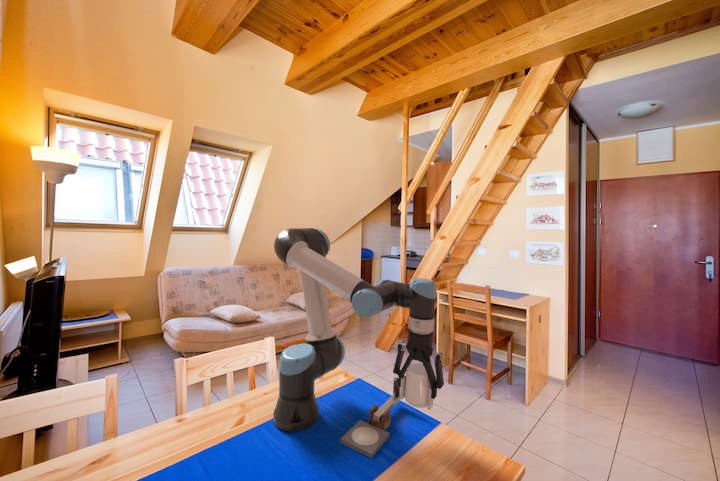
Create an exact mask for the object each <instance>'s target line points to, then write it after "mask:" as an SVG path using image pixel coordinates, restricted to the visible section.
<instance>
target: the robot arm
mask: <svg viewBox="0 0 720 481" xmlns="http://www.w3.org/2000/svg"><path fill="white" fill-rule="evenodd" d="M273 243H274V244H273V249H274V253H275V255H276V256H277V258H278V259H279V261H281V262H282V263H283V264H285V265H286V266H288V267H290V268H293V269H294V268H297V269H298V270H299V271H300V276H301V285H302V292H303V299H304V307H305V313H306V314H305V315H306V322H307V323H306V324H307V330H308V334H307V335H306V337H305V343H299V344H293V345H289V346H288V347H286V348H285V349H284V350H282V352H281V354H280V355H279V364H278V371H279V372H278V373H279V374H278V375H279V378H278V384H279V387H278V390H279V391H278V395H279V396H278V398H277V402H276V404H275V408H274V411H273V423H274V426H276V427H277V428H278V429H280V430H283V431H285V432H301V431H303V430H307V429H310V428H311V427H312V426H314V425H315V424H316V423H317V422H318V420H319V418H320V417H319V416H320V408H319V405H318V403H317V398H316V396H315V382H316V380H318V379H320V378H321V377H323V376H325V375H327V374H328V373H330V372H333V371H334V370H335V369H337V367H339V366H340V365H341V364H342V363H343V362H344V359H345V356H346V355H345V353H346V351H345V345H344V342H343V341H341V338H340V337H338V336H337V332H336V331H334V330H333V328H332V322H331V315H330V308H329V301H328V300H329V299H328V294H327V293H328V292H327V288H328V289H330V290H331V291H332V292H333V293H336V294H337V295H338V296H340V297H341V298H343V299H345V300H346V301H348V302H350V303H351V307H352V310H354V312H355V314H356V315H358V316H359V317H360V318H361V317H362V318H369V317H373V316H377V315H379V314H380V313H382V312H383V311H386V310H388V309H391V308H392V307H399V308H404V309H408V323H407V324H408V329H407V342H406V343H404V342H403V341H401V342H400V343H398V344H397V354H396V358H395V361H394V366H393V371H392V372H393V374H395V375H397V376H398V377H397V378H399V379H398V386H399V387H400V399H401V400H403V399H405V386H406V370H407V368H408V367H409V365H410V364H411V363H413V361H418V362H419V363H423V366H424V367H425V370H426V373H427V376H428V379H429V381H430V384H431V386H430V387H429V392H428V406H427V407H426V409H427V410H428V411H431V409H432V408H433V406H434V400H435V399H436V398H437V396H438V389H439V390H441V389H442V388H443V386H444V385H445V381H444V373H443V372H444V370H443V364H442V359H443V355H444V354H443V353H442V352H436V351H434V348H433V345H434V344H433V341H434V332H433V331H434V327H435V325H434V324H435V311H436V299H437V295H436V294H437V293H436V292H437V286H436V282H435V281H434V280H432V279H429V278H420V277H417V278H412V279H411V281H410V283H405V282H400V281H394V280H390V279H379V280H377V281H376V283H374V285H372V284H371V283H369V282H367V281H365V279H362V278H361V277H358V276H357V275H356V274H353V273H352V272H350V271H349V270H347V269H345V268H344V267H342V266H340V265H339V264H337V263H335V262H334V261H332V260H330V259H328V258H327V257H326V256H328V254H329V251H330V249H331V241H330V238H329V237H328V234H327V233H325V232H324V231H323V230H322V229H319V228H315V227H314V228H313V227H310V228H309V227H307V228H303V227H302V228H299V227H298V228H295V227H294V228H291V227H290V228H286V229H283V230H282V231H280V232H279V233H278V235H276V238H275V239H274V242H273ZM406 350H407V352H408V356H407V358H406V360H405V362H403V358H404V356H405V351H406ZM431 356H432V357H433V360H434V368H435V369H434V368H433V365H432V360H431ZM402 362H403V366H402ZM401 366H402V367H401ZM433 370H435V372H434V371H433Z"/></svg>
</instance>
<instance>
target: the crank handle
mask: <svg viewBox="0 0 720 481" xmlns="http://www.w3.org/2000/svg"><path fill="white" fill-rule="evenodd" d="M398 379H399V377H393V385H392V386H393V387H392V388H393V390H392V392H393V393H392V395H391V396H390V397H388V399H387V400H386V401H385V402H384V403H383V404H382V405H381V406H380V407H378V410H377V411H376V412H375V413H374V414H373V420H375V421H377V422H380V421H381V420H382V414H383V413H384V412H385V411H386V410H387V409H390V411H392V410H393V408H394V407H396V405H397V404H398V403H399V402H400V401H401V400H402V399H400V389H401V387H399V386H398Z"/></svg>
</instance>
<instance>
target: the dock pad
mask: <svg viewBox="0 0 720 481" xmlns="http://www.w3.org/2000/svg"><path fill="white" fill-rule="evenodd" d="M389 437H390V432H388V431H386V430H385V431H384V430H382V429H379V428H377V427H375V426H372V425H370V424H369V422H365V421H362V419H361V420H358V421H357V422H356V423H355V424H354V425H353V426H352V427H351V428H350V429H349V430H347V432H346V433H345V434H344V435H343V436H342V437H340V440H339V443H340V444H342V445H344V446H346V447H348V448H350V449H351V450H354V451H356V452H358V453H360V454H362V455H364V456H366V457H368V458H370V459H372V458H373V457H374V456H375V454H376V453H378V451H379V450H380V448H382V446H383V445H384V444H385V443H386V441H387V440H388V439H389Z"/></svg>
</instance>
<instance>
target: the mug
mask: <svg viewBox="0 0 720 481" xmlns="http://www.w3.org/2000/svg"><path fill="white" fill-rule="evenodd" d="M434 370H435V369H433V371H434ZM405 375H406V386H405V397H404V399H405V401H406V402H407V403H408V404H409V405H410V406H411V407H414V408H417V409H418V408H420V409H422V408H423V409H424V408H427V407H428V392H429V387H430V386H431V384H430V381H429V379H428V376H427V373H426V370H425V367H424V366H423V363H422V362H411V364H410V365H409V367H408V368H407V370H406V372H405Z"/></svg>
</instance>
